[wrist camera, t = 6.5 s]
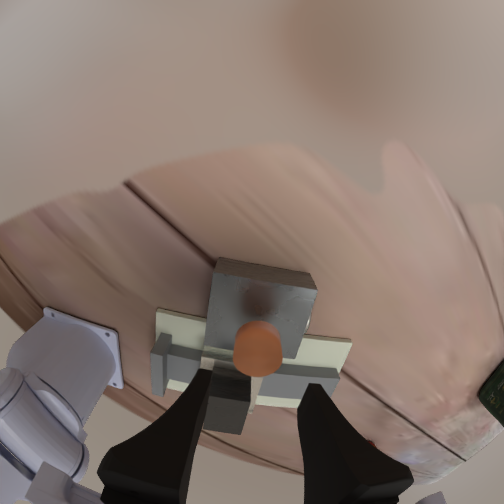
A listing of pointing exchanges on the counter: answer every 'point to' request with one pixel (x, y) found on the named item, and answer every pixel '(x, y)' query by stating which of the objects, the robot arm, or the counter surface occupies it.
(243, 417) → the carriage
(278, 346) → the plunger
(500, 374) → the coffee jar
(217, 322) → the gauge box
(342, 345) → the track board
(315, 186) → the counter surface
